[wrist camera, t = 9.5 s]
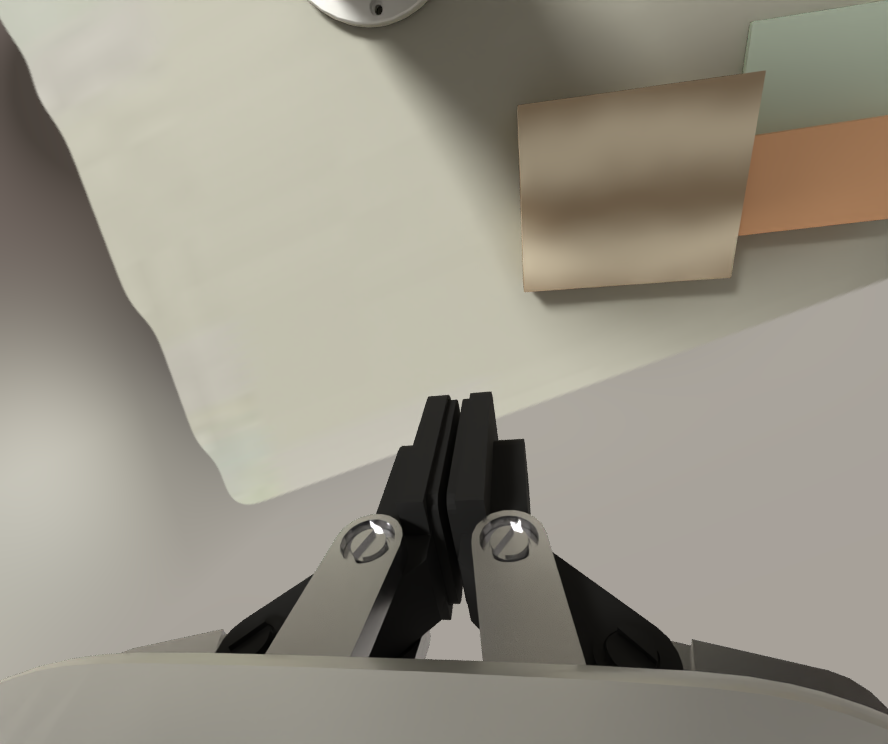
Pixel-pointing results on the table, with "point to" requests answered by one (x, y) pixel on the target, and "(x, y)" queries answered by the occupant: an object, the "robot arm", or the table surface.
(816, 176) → the tile
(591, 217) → the plate
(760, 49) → the mat
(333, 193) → the table surface
